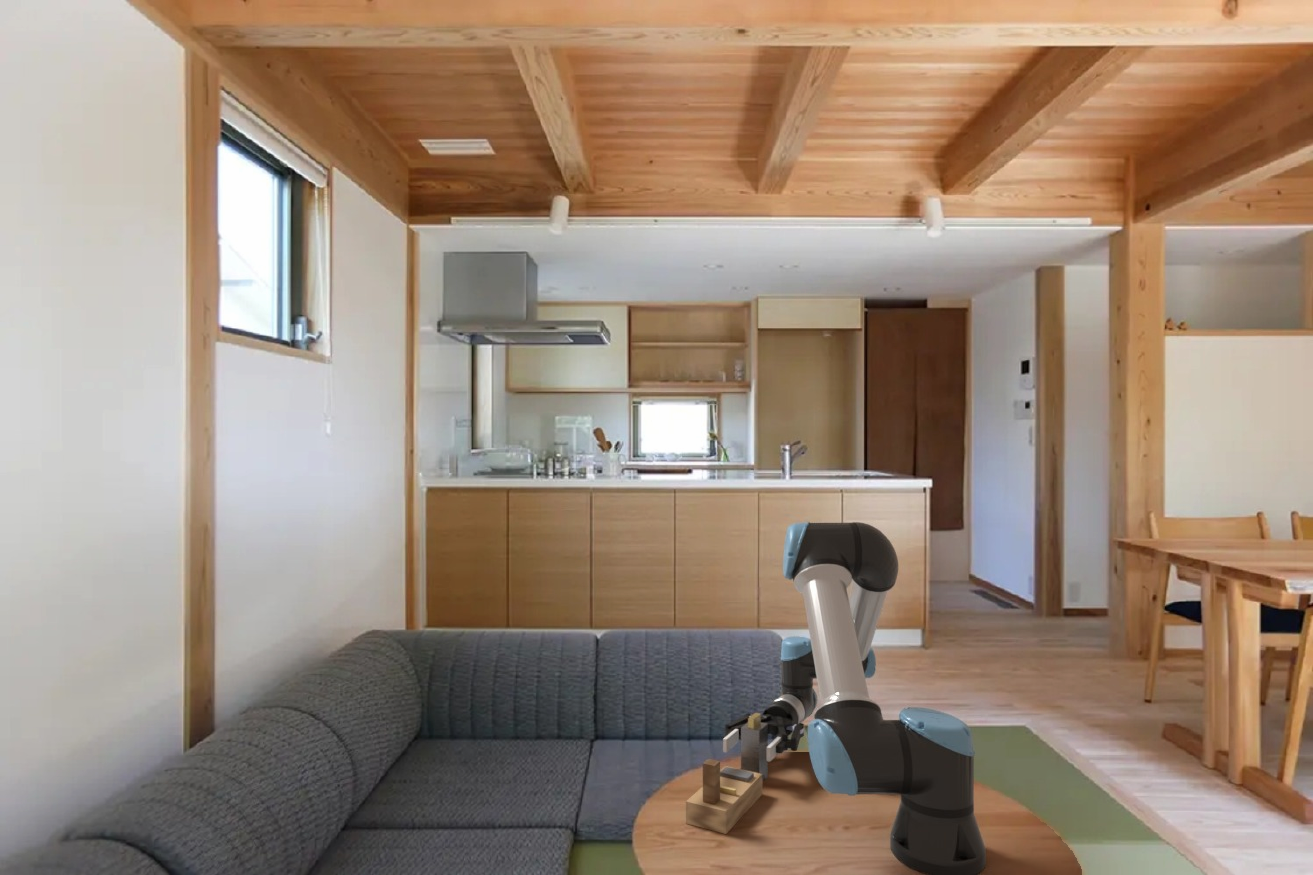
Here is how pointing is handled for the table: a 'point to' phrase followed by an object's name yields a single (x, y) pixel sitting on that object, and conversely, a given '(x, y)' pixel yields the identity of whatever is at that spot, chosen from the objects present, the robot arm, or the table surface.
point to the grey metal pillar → (754, 746)
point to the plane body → (722, 797)
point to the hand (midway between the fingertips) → (746, 749)
